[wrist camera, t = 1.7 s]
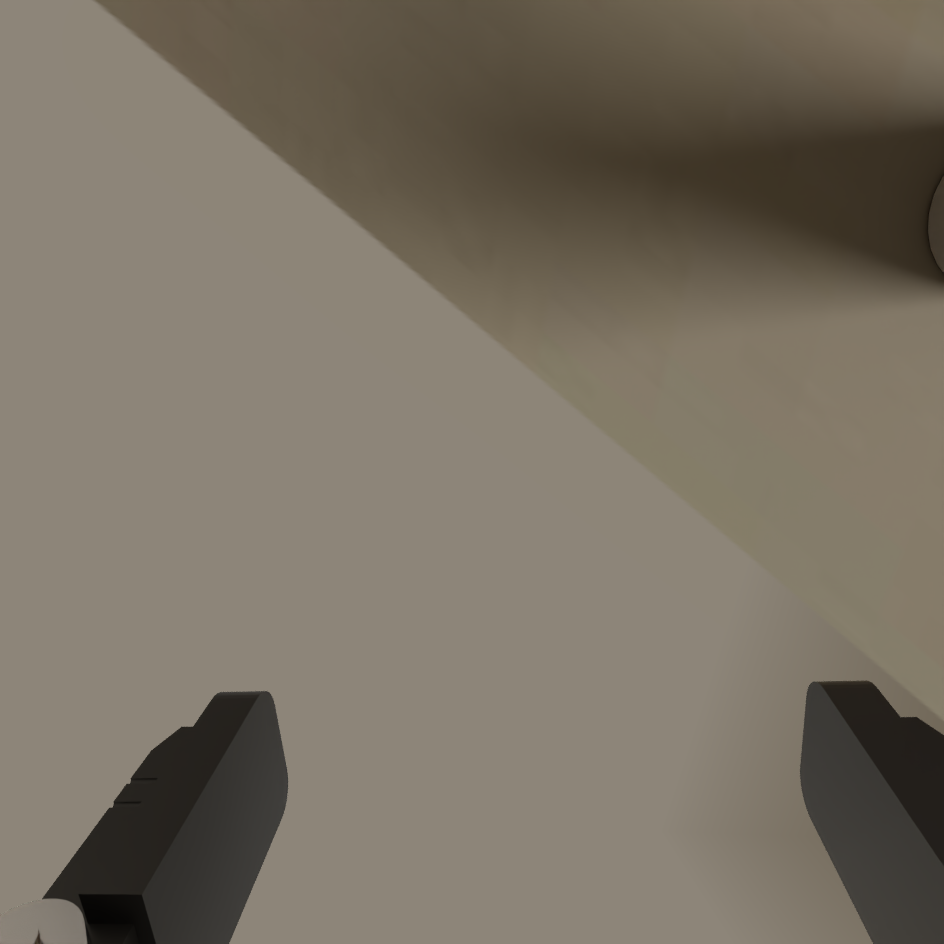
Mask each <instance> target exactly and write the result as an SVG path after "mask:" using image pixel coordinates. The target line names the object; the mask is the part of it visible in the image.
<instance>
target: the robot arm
mask: <svg viewBox="0 0 944 944" xmlns="http://www.w3.org/2000/svg"><path fill="white" fill-rule="evenodd" d="M928 235H929V241H930V247H931V251H932V253H933V255H934V258H935V260H936V262H937V265H938V266H939V267H940V269H941V270H942V271H943V272H944V175H943V177H942V179H941V181H940V183H939V185H938V187H937V190H936V192H935V194H934V196H933V200H932V204H931V208H930V212H929V223H928ZM800 779H801V787H802V793H803V797H804V801H805V805H806V808H807V811H808V814H809V816H810V818H811V820H812V822H813V824H814V826H815V828H816V830H817V832H818V834H819V836H820V838H821V840H822V842H823V844H824V846H825V848H826V850H827V852H828V854H829V856H830V858H831V860H832V862H833V864H834V866H835V868H836V870H837V872H838V874H839V876H840V878H841V880H842V882H843V884H844V886H845V888H846V890H847V892H848V894H849V896H850V898H851V900H852V902H853V904H854V906H855V908H856V910H857V912H858V914H859V916H860V918H861V920H862V922H863V924H864V926H865V928H866V930H867V932H868V934H869V936H870V938H871V940H872V942H873V944H944V735H943V734H941V733H940V732H938V731H936V730H935V729H934V728H932V727H930V726H929V725H928V724H926V723H924V722H923V721H922V720H920V719H919V718H917V717H900V716H899V715H898V714H897V712H896V711H895V710H894V709H893V707H892V706H891V705H890V704H889V702H888V701H887V700H886V699H885V697H884V696H883V695H882V694H881V692H880V691H879V690H878V689H877V687H876V686H875V685H874V684H873V683H871V682H869V681H831V682H830V681H828V682H812V683H811V684H810V685H809V687H808V691H807V696H806V707H805V719H804V730H803V742H802V753H801V765H800ZM287 793H288V773H287V767H286V762H285V757H284V751H283V746H282V741H281V735H280V730H279V725H278V719H277V714H276V709H275V704H274V701H273V698H272V696H271V694H270V693H269V692H267V691H261V692H260V691H256V692H220V693H217V694H216V695H215V696H214V697H213V699H212V700H211V702H210V703H209V704H208V706H207V707H206V709H205V710H204V712H203V713H202V715H201V716H200V717H199V719H198V720H197V722H196V723H195V725H194V726H193V727H181V728H180V729H178V730H177V731H176V732H175V733H173V734H172V735H171V736H169V737H168V738H167V739H166V740H164V741H163V742H162V743H160V744H159V745H158V746H157V747H155V748H154V749H153V750H151V752H150V754H149V755H148V756H147V757H146V759H145V760H144V761H143V763H142V764H141V765H140V767H139V768H138V769H137V771H136V772H135V773H134V775H133V776H132V778H131V783H130V784H126V786H125V787H124V788H123V790H122V791H121V793H120V794H119V795H118V797H117V798H116V799H115V801H114V806H113V808H109V809H108V810H107V811H106V813H105V814H104V816H103V817H102V818H101V820H100V821H99V822H98V824H97V825H96V826H95V828H94V829H93V831H92V832H91V833H90V835H89V836H88V837H87V839H86V840H85V841H84V843H83V844H82V845H81V847H80V848H79V850H78V851H77V852H76V854H75V855H74V856H73V858H72V859H71V860H70V862H69V863H68V865H67V866H66V867H65V868H64V870H63V871H62V873H61V874H60V875H59V877H58V878H57V879H56V881H55V882H54V883H53V885H52V886H51V887H50V889H49V890H48V892H47V893H46V894H45V896H44V897H43V898H42V900H36V901H32V902H29V903H26V904H22V905H20V906H18V907H15V908H13V909H10V910H8V911H7V912H5V913H3V914H1V915H0V944H229V942H230V940H231V938H232V935H233V933H234V930H235V928H236V926H237V923H238V921H239V919H240V916H241V914H242V912H243V909H244V907H245V904H246V902H247V899H248V897H249V895H250V893H251V890H252V888H253V885H254V883H255V881H256V878H257V876H258V874H259V871H260V869H261V867H262V864H263V862H264V859H265V857H266V855H267V852H268V850H269V848H270V845H271V843H272V840H273V838H274V835H275V833H276V831H277V828H278V826H279V824H280V821H281V819H282V816H283V814H284V810H285V806H286V801H287Z"/></svg>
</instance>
